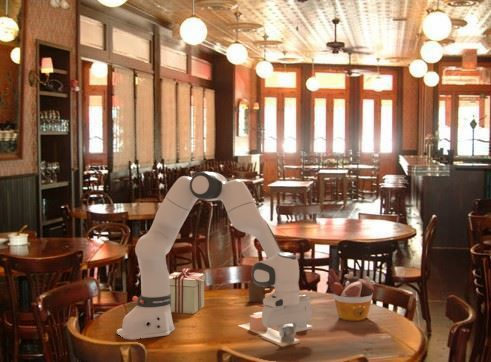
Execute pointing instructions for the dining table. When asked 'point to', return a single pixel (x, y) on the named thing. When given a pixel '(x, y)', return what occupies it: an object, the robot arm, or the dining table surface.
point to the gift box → (186, 291)
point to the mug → (257, 292)
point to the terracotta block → (257, 322)
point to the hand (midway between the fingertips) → (287, 335)
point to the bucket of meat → (352, 296)
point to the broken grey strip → (301, 325)
